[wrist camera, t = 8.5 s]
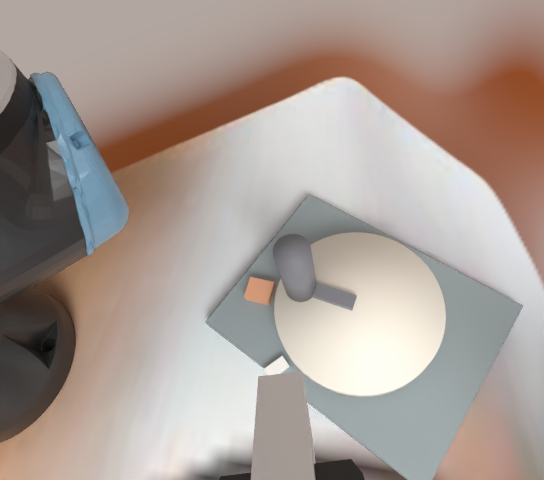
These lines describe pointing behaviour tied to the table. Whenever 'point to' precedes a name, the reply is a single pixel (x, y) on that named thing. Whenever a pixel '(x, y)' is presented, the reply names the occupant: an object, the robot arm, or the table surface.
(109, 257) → the table surface
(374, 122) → the table surface
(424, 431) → the dial board
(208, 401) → the table surface
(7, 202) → the robot arm
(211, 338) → the table surface
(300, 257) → the dial
